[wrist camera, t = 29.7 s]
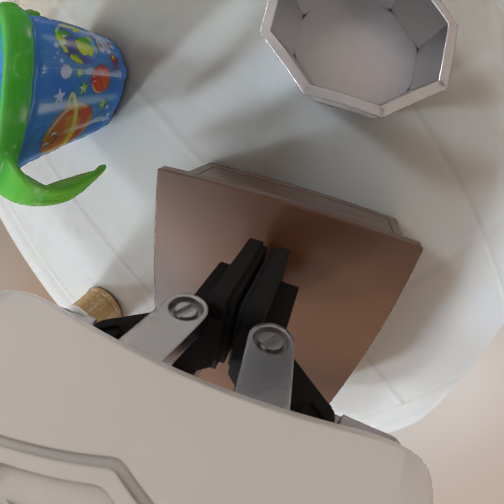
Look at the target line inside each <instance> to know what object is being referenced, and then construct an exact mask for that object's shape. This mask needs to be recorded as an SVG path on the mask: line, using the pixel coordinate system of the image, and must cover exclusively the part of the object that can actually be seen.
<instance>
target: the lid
mask: <svg viewBox="0 0 504 504" xmlns="http://www.w3.org/2000/svg"><path fill="white" fill-rule="evenodd" d="M249 238H253V239H257V240H260V241H263V242H264V244H263V245H264V246H267V247H268V248H267V253H266V257H267V255H268V253H269V251H270V250H271V248H273V249H276V248H277V246H279V247H282V248H285V249H288V250H291V252H290V256H289V259H288V262H287V266H286V269H285V272H284V276H283V279H282V282H285V283H288V284H291V285H294V286H297V287H299V290H298V293H297V296H296V300H295V303H294V306H293V310H292V313H291V316H290V320H289V323H288V326H287V330H288V331H289V332H290V333H291V334H292V336H293V338H294V342H295V349H294V359H295V360H296V362H297V363H298V364H299V366H300V367H301V368H302V369H303V371H304V372H305V373H306V375H307V376H308V377H309V379H310V380H311V381H312V383H313V384H314V385H315V387H316V388H317V389H318V390H319V392H320V393H321V394H322V396H323V397H324V398H325V399H326V401H327V402H328V403H330V402H331V401H332V399H333V398H334V397H335V395H336V394H337V393H338V391H339V390H340V389H341V387H342V386H343V385H344V383H345V382H346V380H347V379H348V378H349V376H350V375H351V373H352V372H353V370H354V369H355V367H356V366H357V365H358V363H359V362H360V360H361V359H362V357H363V356H364V354H365V353H366V351H367V350H368V348H369V346H370V345H371V343H372V342H373V340H374V339H375V337H376V335H377V334H378V332H379V330H380V329H381V327H382V325H383V324H384V322H385V320H386V319H387V317H388V315H389V314H390V312H391V310H392V308H393V307H394V305H395V303H396V301H397V299H398V298H399V296H400V294H401V292H402V290H403V288H404V287H405V285H406V283H407V281H408V279H409V277H410V275H411V273H412V271H413V269H414V267H415V265H416V263H417V261H418V259H419V257H420V255H421V253H422V250H423V247H422V245H421V243H420V242H417V241H415V240H412V239H409V238H407V237H404V236H401V235H399V234H396V233H393V232H390V231H388V230H385V229H382V228H379V227H376V226H373V225H371V224H368V223H365V222H362V221H359V220H356V219H353V218H350V217H347V216H344V215H341V214H338V213H335V212H332V211H328V210H325V209H322V208H319V207H316V206H313V205H309V204H306V203H303V202H300V201H296V200H293V199H290V198H286V197H283V196H279V195H276V194H272V193H269V192H265V191H262V190H258V189H255V188H251V187H247V186H244V185H240V184H236V183H232V182H229V181H225V180H221V179H217V178H213V177H209V176H205V175H201V174H197V173H193V172H189V171H184V170H180V169H176V168H171V167H167V166H164V167H161V168H159V169H158V175H157V190H156V210H155V243H154V284H155V309H156V308H157V307H158V306H159V305H161V304H162V303H163V302H164V301H165V300H167V299H168V298H169V297H171V296H173V295H176V294H182V293H187V294H193V295H194V294H195V293H196V292H197V291H198V289H199V288H200V287H201V285H202V284H203V283H204V282H205V280H206V279H207V278H208V277H209V275H210V274H211V273H212V272H213V270H214V269H215V268H216V266H217V265H218V264H219V263H220V262H225V263H228V264H231V263H232V262H233V260H234V259H235V258H236V256H237V255H238V254H239V252H240V251H241V249H242V248H243V247H244V245H245V244H246V243H247V241H248V240H249ZM266 257H265V259H266ZM230 351H231V350H230ZM229 355H230V352H229V354H228V356H227V358H226V360H225V362H224V363H221V362H219V363H218V364H217V366H216V368H215V369H213V368H206V369H202V370H201V373H200V375H199V377H198V378H200V379H203V380H205V381H208V382H210V383H213V384H215V385H218V386H221V387H223V388H226V389H228V390H231V391H233V389H234V384H233V382H232V380H231V379H230V377H229V375H228V371H229V367H230V366H229V365H228V360H229Z"/></svg>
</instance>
